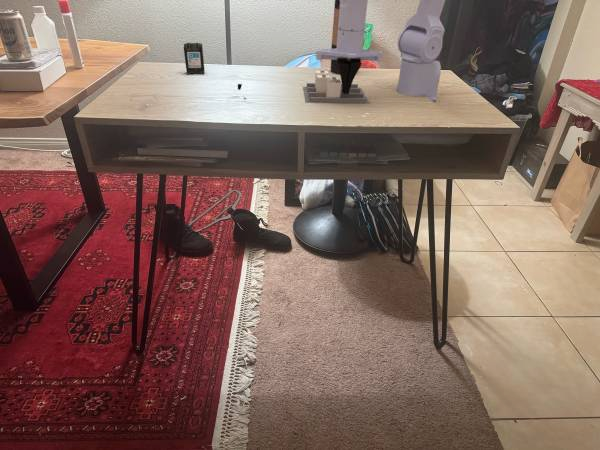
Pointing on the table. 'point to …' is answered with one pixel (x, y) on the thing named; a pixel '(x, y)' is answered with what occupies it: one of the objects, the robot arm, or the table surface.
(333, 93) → the tab
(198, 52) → the ink cartridge
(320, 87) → the tab middle
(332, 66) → the travel mug
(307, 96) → the switch bank
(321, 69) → the tab
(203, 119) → the table surface
